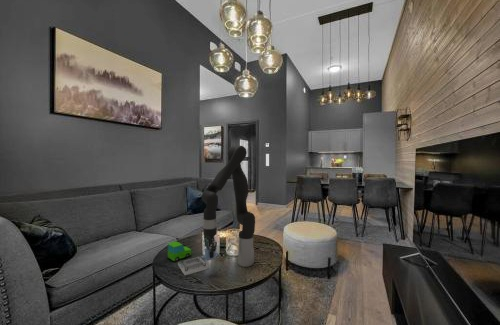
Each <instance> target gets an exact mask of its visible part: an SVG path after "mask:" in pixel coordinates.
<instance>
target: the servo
mask: <svg viewBox="0 0 500 325" xmlns="http://www.w3.org/2000/svg"><path fill="white" fill-rule="evenodd" d="M219 255H220V253H219V252H217V250H216V251H214V257H213V258H210V251H209V248H206V247H205V249H204V255H200V258H201V259H202V260H204V259H205V261H207V262H209V261H212V260H213V261H214V260H216V256H219Z"/></svg>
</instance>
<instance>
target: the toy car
mask: <svg viewBox="0 0 500 325" xmlns="http://www.w3.org/2000/svg"><path fill="white" fill-rule="evenodd" d="M191 255H192V249H191V248H189V247H188V246H184V245H183V244H182V243H180V242H178V241H173V242H169V243H167V258H168V259H170V260H171V261H173V262H177V263H178V262H179V261H180V260H182V259H184V258H186V259H188V258H189V257H190V256H191Z"/></svg>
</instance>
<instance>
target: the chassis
mask: <svg viewBox="0 0 500 325" xmlns="http://www.w3.org/2000/svg"><path fill="white" fill-rule="evenodd" d="M177 266H178V268H179V269H180V271H181V272H182V274H183V275H184V276H187V275H188V276H189V275H191V274H195V273H199V272H202V271H206V270H209V265H208V264H207V263H206V262H205V260H204V259H202V258H201V255H197V256H196V257H193V258H189V259H188V258H187V259H185V260H183V259H179V261H177Z"/></svg>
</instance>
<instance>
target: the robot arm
mask: <svg viewBox="0 0 500 325" xmlns="http://www.w3.org/2000/svg"><path fill="white" fill-rule="evenodd" d="M247 152H248V151H247V149H246V147H245V146H243V145H233V146H230V147H229V148H228V150H227V158H228V162H227V164H225V166H224V167H223V168H221V170H219V172H218V173H217V174H216V175H215V178H213V180H212V182H211V183H210V184H209V185H208V186H207V187H206V188H205V189H204V191H203V192H202V194H201V200H202V202H203V203H206V206H205V208H204V210H203V222H202V228H203V229H202V232H203V234H202V235H203V241H204V247H205V249H206V248H209V251H210V258H213V257H214V251H216V252H217V245H218V242H217V241H215V240H216V239H215V236H216V235H217V234H218V233H217V232H218V230H217V228H218V226H217V208H218V203H219V197H218V194H217V193H218V192H220V191H222V190H223V188H224V186H225V185H226V184H227V182H228V180H229V179H230V178H231V177H232V183H233V184H232V185H233V193H234V198H235V207H236V220H237V223H238V224H239V225H240V226H241V225H242V226H241V227H242V229H241V230H240V231H239V232H238V251H237V252H238V253H237V255H238V260H237V262H238V265H239V266H240V267H243V268H247V267H251V266H253V264H255V248H254V234H255V230H256V217H255V214H254V213H252V212H251V211H248V208H247V207H248V206H247V200H248V199H247V198H248V196H249V191H250V190H249V189H250V188H249V181H248V178H247V175H246V174H245V172H244V170H243V167H242V162H243V161H244V160H245V158H246V157H247Z"/></svg>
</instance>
